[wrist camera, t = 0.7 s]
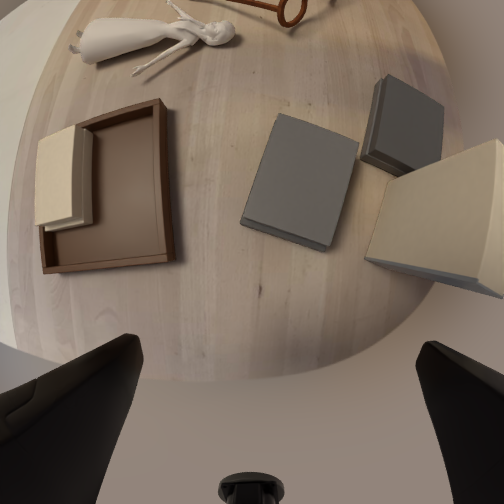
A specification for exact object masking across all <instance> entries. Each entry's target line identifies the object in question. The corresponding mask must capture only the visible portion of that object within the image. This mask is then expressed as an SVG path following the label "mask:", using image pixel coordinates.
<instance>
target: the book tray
mask: <svg viewBox="0 0 504 504" xmlns="http://www.w3.org/2000/svg"><path fill="white" fill-rule="evenodd" d="M76 125H78V126H79V127H81V128H83V129H86V130H88V131H90V132H91V133H93V146H92V217H93V223H92V224H88V225H83V226H78V227H73V228H69V229H64V230H59V231H45V226H39V237H40V250H41V260H42V268H43V274H53V273H63V272H73V271H83V270H93V269H103V268H113V267H123V266H133V265H143V264H153V263H163V262H169V261H173V260H176V256H175V247H174V238H173V227H172V216H171V203H170V188H169V170H168V144H167V108H166V106H165V105H164V103H163V102H162V101H161V99H160V98H158V99H154V100H150V101H146V102H142V103H139V104H135V105H132V106H128V107H125V108H121V109H118V110H115V111H112V112H109V113H106V114H103V115H100V116H97V117H94V118H92V119H89V120H86V121H84V122H81V123H79V124H76Z"/></svg>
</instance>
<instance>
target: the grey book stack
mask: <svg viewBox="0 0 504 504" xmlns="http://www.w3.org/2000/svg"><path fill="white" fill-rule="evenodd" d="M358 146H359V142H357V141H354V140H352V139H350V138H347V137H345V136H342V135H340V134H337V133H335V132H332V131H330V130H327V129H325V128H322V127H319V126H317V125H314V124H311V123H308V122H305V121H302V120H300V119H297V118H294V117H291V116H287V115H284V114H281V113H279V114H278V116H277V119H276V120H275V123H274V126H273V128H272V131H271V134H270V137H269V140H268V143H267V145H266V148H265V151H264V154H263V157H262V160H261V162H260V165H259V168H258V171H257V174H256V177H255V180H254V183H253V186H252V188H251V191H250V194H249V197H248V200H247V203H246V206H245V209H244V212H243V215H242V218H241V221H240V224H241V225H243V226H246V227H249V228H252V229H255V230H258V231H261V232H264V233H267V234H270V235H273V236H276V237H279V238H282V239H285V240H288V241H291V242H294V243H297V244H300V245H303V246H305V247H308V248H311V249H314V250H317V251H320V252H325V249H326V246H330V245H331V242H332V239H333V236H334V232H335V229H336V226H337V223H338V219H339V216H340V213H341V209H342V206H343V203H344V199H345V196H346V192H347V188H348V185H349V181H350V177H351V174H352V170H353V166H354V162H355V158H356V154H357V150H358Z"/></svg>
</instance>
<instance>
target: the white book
mask: <svg viewBox="0 0 504 504" xmlns="http://www.w3.org/2000/svg"><path fill="white" fill-rule="evenodd" d="M364 259H365V260H367V261H370V262H372V263H374V264H377V265H379V266H382V267H384V268H387V269H389V270H393V271H397V272H401V273H405V274H409V275H413V276H417V277H421V278H425V279H429V280H432V281H436V282H440V283H444V284H448V285H452V286H455V287H460V288H463V289H467V290H471V291H474V292H478V293H481V294H485V295H489V296H493V297H496V298H500V299H503V297H504V145H503V144H502V143H501V142H500V141H499V140H498V139H493V140H491V141H488V142H485V143H483V144H480V145H478V146H475V147H473V148H470V149H468V150H465V151H463V152H460V153H458V154H455V155H453V156H450V157H448V158H445V159H443V160H440V161H438V162H435V163H433V164H430V165H428V166H425V167H423V168H420V169H418V170H415V171H413V172H410V173H408V174H406V175H403V176H401V177H398V178H396V179H393V180H391V181H389V182H388V183H387V187H386V191H385V195H384V199H383V202H382V206H381V209H380V213H379V216H378V219H377V223H376V226H375V229H374V232H373V236H372V239H371V242H370V245H369V248H368V251H367V254H366V257H365V258H364Z"/></svg>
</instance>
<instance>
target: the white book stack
mask: <svg viewBox="0 0 504 504" xmlns="http://www.w3.org/2000/svg"><path fill="white" fill-rule="evenodd" d="M92 146H93V133H91V132H90V131H88V130H86V129H83V128H81V127H79V126H78V125H76V124H75V125H72V126H70V127H67V128H65V129H63V130H60V131H58V132H56V133H54V134H52V135H49V136H47V137H45V138H43V139H41V140H39V143H38V151H37V162H36V176H35V226H45V231H59V230H64V229H69V228H73V227H78V226H83V225H88V224H92V223H93V217H92Z"/></svg>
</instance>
